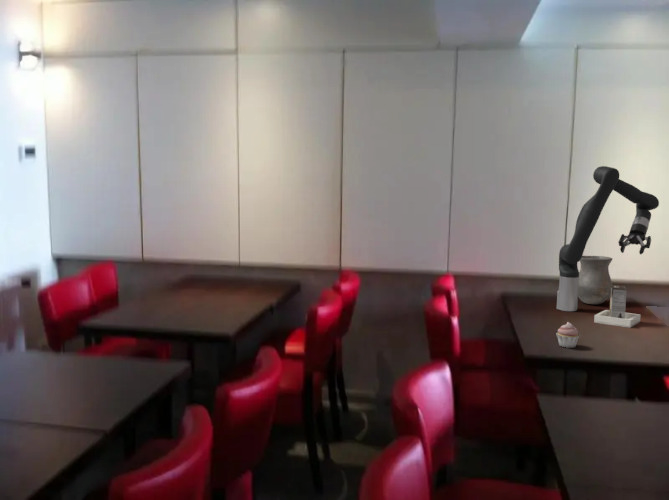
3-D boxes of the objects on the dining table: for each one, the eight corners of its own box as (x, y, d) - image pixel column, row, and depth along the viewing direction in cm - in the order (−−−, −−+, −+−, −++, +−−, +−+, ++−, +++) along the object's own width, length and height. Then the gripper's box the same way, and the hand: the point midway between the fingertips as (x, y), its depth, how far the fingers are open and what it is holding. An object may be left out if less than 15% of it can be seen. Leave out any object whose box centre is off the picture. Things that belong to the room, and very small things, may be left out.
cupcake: (560, 341, 275) (561, 318, 274) (582, 345, 269) (584, 321, 268) (551, 346, 268) (552, 322, 266) (574, 350, 262) (575, 325, 261)
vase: (565, 301, 360) (567, 255, 357) (591, 298, 368) (593, 254, 365) (593, 308, 342) (595, 260, 339) (620, 305, 350) (623, 258, 347)
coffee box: (608, 317, 317) (610, 284, 315) (623, 318, 315) (625, 285, 313) (610, 322, 308) (612, 287, 306) (625, 323, 306) (627, 288, 304)
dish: (594, 322, 310) (594, 315, 310) (605, 316, 323) (605, 309, 322) (630, 327, 300) (630, 320, 300) (640, 321, 312) (640, 314, 312)
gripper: (623, 222, 336) (614, 246, 328) (653, 223, 327) (645, 248, 319) (625, 231, 340) (617, 256, 333) (655, 233, 331) (647, 258, 324)
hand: (631, 252), depth 326 cm, fingers open, 8 cm apart
